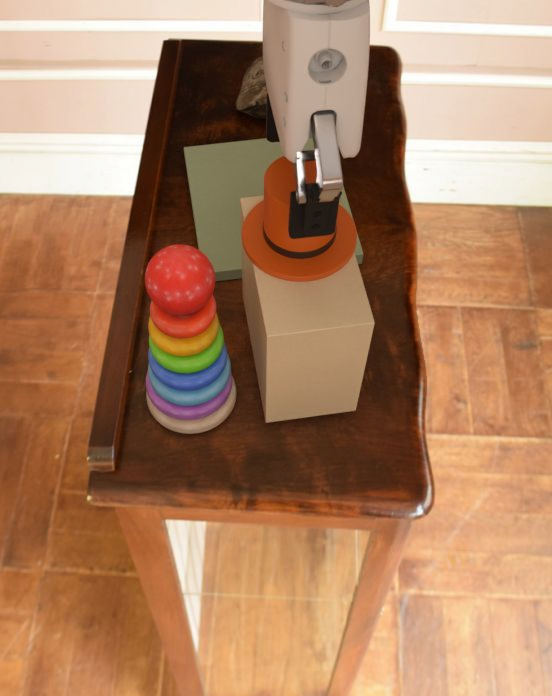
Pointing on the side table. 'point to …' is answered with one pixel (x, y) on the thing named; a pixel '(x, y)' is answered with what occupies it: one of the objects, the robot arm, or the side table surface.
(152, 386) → the stacking toy
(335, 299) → the tall cardboard box
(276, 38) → the robot arm
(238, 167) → the stand board
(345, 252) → the hat
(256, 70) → the fossilized seashell
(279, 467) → the side table surface
